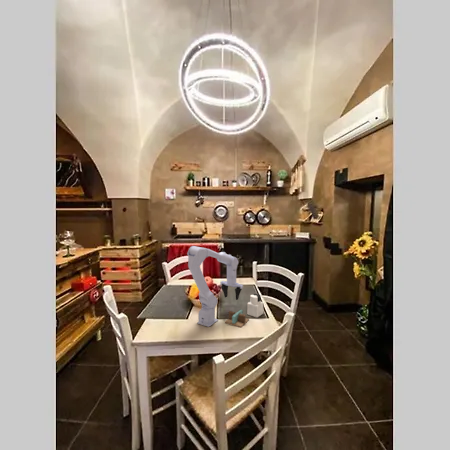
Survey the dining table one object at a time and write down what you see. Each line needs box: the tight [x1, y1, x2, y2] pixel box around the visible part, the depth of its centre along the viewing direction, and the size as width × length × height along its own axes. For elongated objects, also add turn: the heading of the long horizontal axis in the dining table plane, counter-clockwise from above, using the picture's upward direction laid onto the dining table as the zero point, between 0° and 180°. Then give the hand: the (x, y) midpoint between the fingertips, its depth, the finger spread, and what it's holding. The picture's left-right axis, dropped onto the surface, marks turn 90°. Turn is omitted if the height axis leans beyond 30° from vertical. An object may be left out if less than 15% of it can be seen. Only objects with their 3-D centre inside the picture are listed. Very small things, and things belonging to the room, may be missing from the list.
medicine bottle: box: [246, 293, 264, 318], centre depth 153 cm, size 7×7×12 cm
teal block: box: [232, 309, 244, 324], centre depth 144 cm, size 10×2×4 cm, turn 150°
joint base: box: [224, 310, 250, 328], centre depth 144 cm, size 10×10×5 cm
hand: (231, 298), depth 154 cm, fingers open, 7 cm apart
